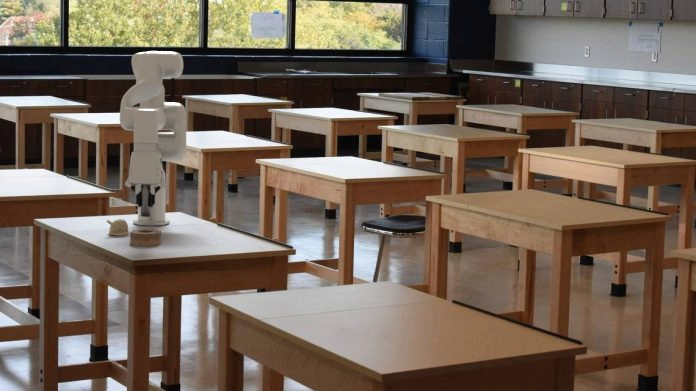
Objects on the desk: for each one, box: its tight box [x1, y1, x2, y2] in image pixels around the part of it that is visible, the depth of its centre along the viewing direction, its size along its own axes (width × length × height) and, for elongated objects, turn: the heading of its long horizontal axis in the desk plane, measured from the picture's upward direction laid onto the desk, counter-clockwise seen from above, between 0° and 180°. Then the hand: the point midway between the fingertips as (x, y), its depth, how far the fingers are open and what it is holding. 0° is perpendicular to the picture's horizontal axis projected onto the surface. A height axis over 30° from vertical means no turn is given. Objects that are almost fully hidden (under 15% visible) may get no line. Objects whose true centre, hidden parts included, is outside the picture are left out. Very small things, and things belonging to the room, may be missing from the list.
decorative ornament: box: [106, 218, 130, 237], centre depth 384 cm, size 4×8×5 cm, turn 126°
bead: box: [129, 228, 162, 248], centre depth 369 cm, size 9×9×4 cm
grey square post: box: [141, 184, 151, 217], centre depth 367 cm, size 3×3×10 cm
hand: (145, 206), depth 367 cm, fingers closed on grey square post, 3 cm apart
